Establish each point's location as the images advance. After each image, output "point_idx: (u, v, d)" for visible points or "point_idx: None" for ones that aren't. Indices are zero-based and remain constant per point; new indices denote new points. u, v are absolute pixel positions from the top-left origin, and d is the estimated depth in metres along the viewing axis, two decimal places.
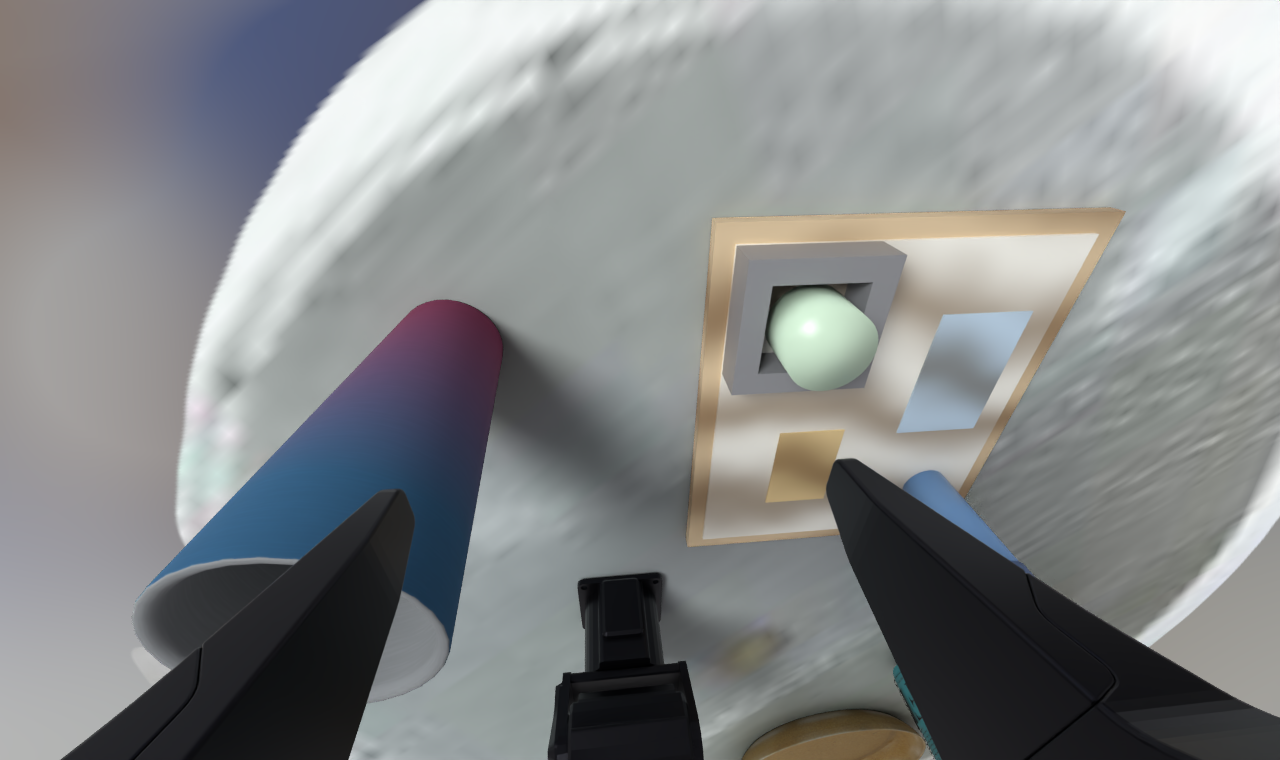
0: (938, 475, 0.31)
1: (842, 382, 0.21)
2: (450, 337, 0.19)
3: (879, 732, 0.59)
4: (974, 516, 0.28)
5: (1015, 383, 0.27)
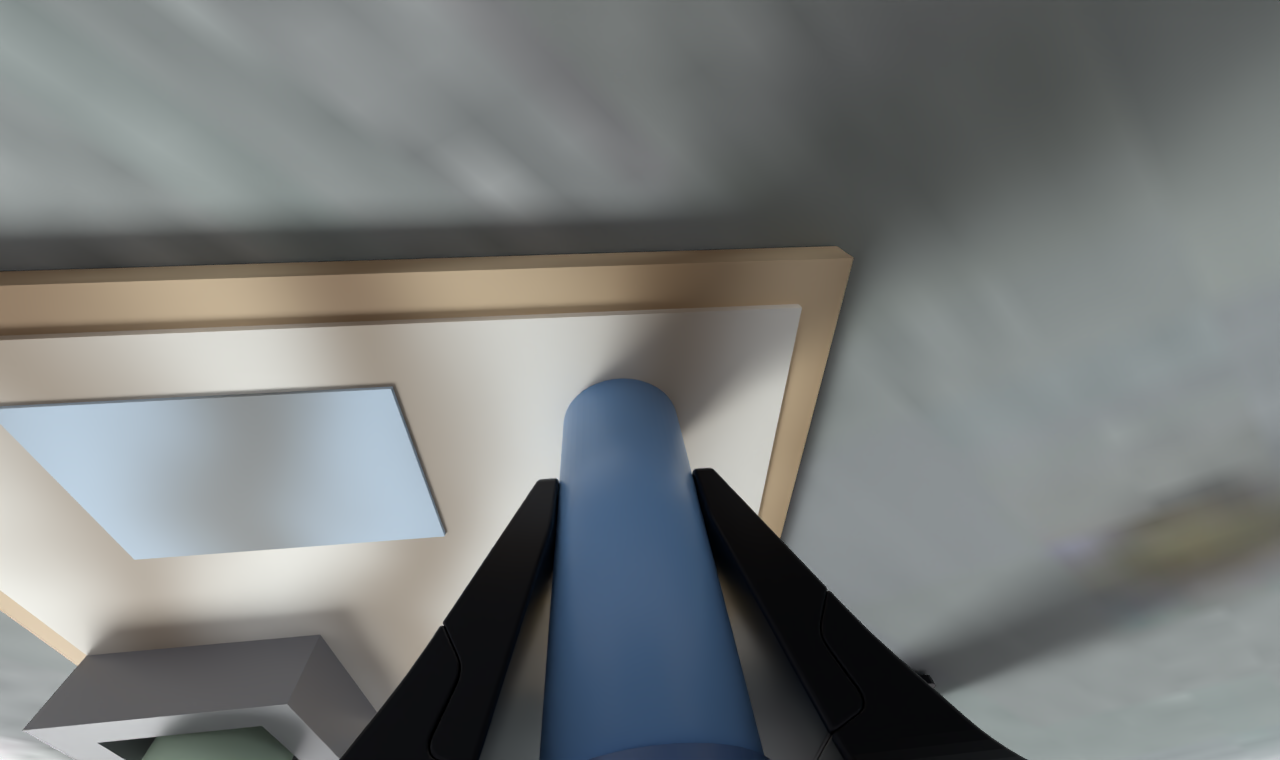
0: (563, 431, 0.11)
1: None
2: None
3: None
4: (554, 558, 0.08)
5: (202, 339, 0.09)
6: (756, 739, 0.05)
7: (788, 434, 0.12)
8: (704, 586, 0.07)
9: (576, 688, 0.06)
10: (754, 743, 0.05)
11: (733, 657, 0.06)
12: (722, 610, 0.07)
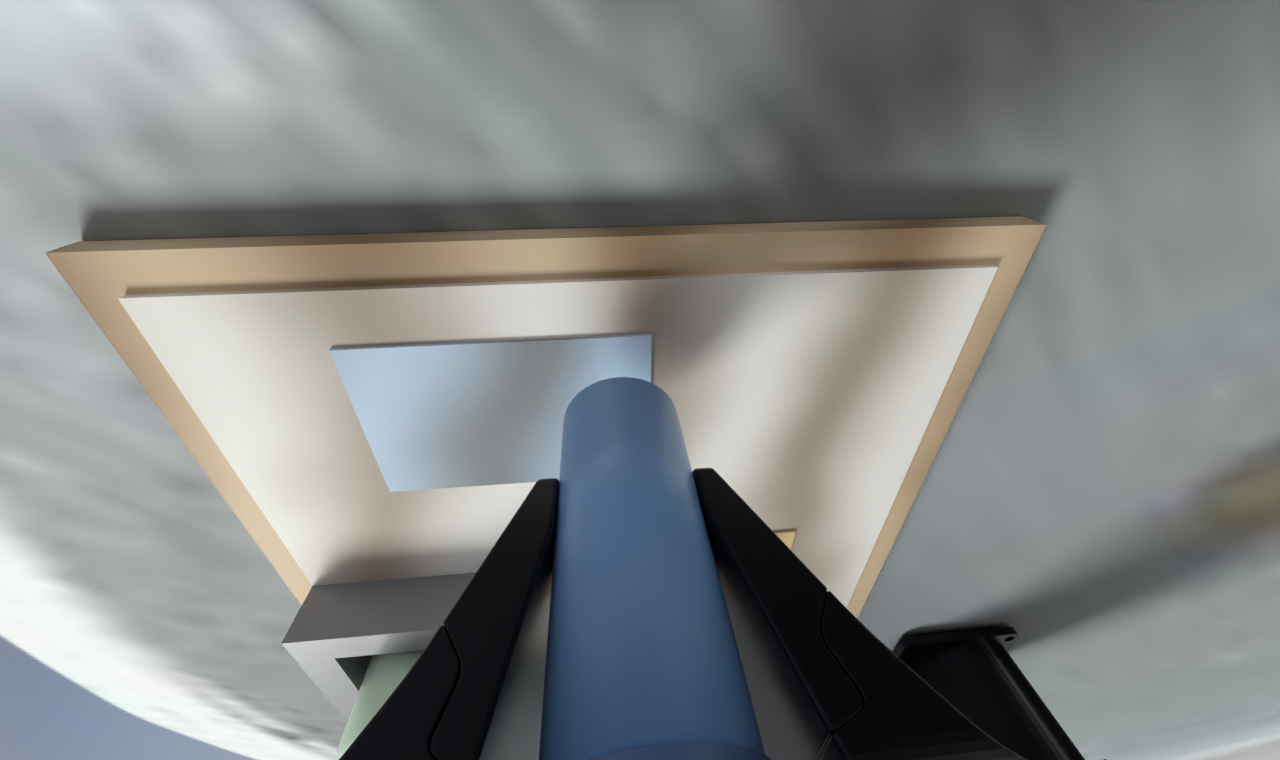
0: (563, 430, 0.11)
1: None
2: None
3: None
4: (554, 557, 0.08)
5: (517, 290, 0.11)
6: (757, 739, 0.05)
7: (954, 383, 0.14)
8: (705, 585, 0.07)
9: (576, 687, 0.06)
10: (755, 743, 0.05)
11: (733, 657, 0.06)
12: (723, 609, 0.07)
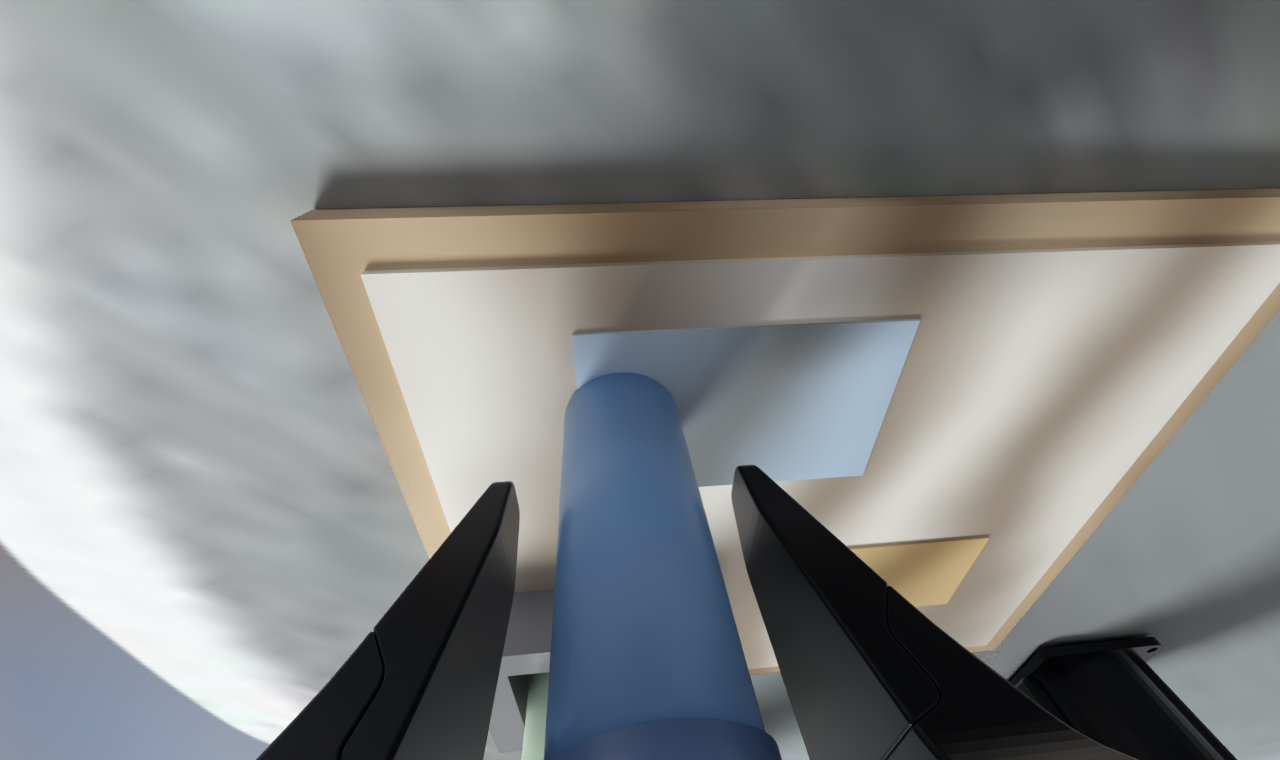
0: (564, 425, 0.11)
1: None
2: None
3: None
4: (557, 547, 0.08)
5: (793, 267, 0.10)
6: (758, 718, 0.06)
7: (1208, 375, 0.13)
8: (706, 571, 0.07)
9: (581, 669, 0.06)
10: (756, 721, 0.05)
11: (735, 640, 0.06)
12: (723, 595, 0.07)
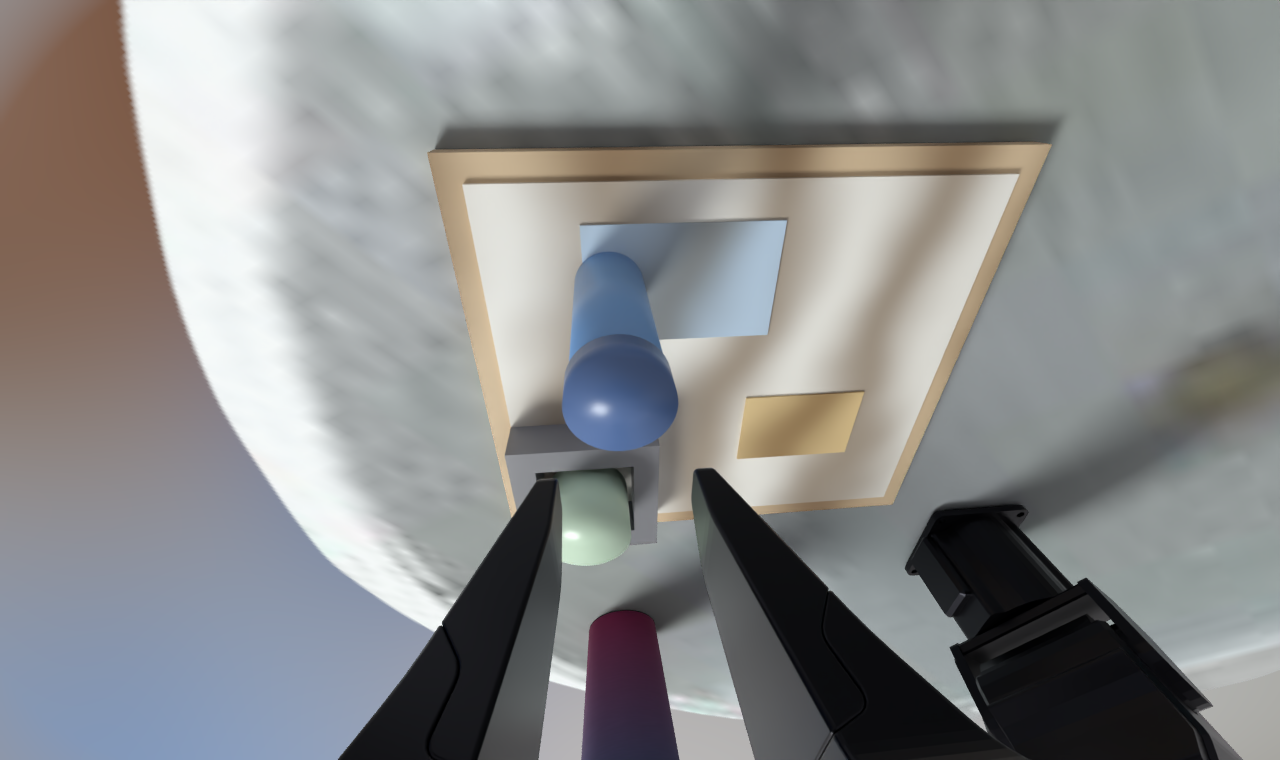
0: (574, 283, 0.18)
1: (621, 523, 0.21)
2: (590, 676, 0.31)
3: None
4: (572, 322, 0.15)
5: (707, 184, 0.17)
6: None
7: (986, 267, 0.20)
8: (645, 316, 0.14)
9: (584, 335, 0.13)
10: None
11: (655, 337, 0.13)
12: (653, 327, 0.14)
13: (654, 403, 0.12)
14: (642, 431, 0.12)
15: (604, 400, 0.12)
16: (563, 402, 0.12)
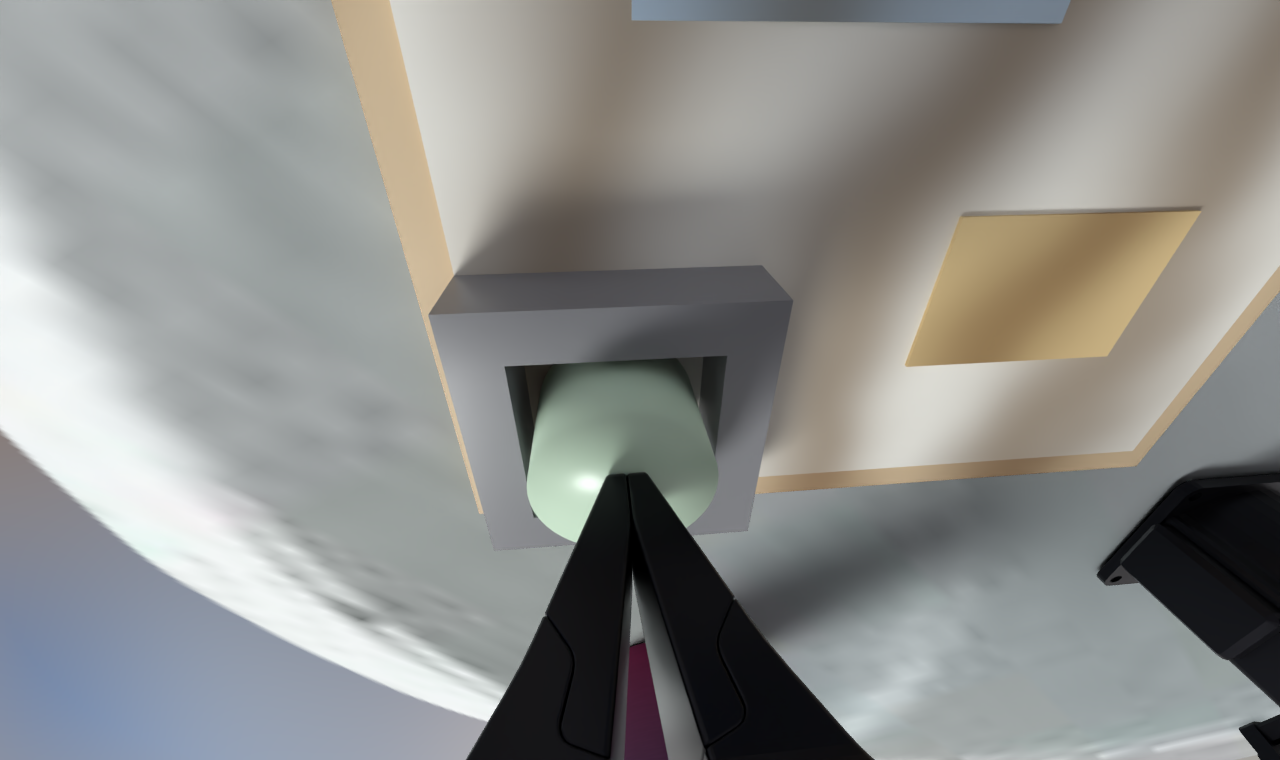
0: None
1: (701, 452, 0.09)
2: None
3: None
4: None
5: None
6: None
7: None
8: None
9: None
10: None
11: None
12: None
13: None
14: None
15: None
16: None
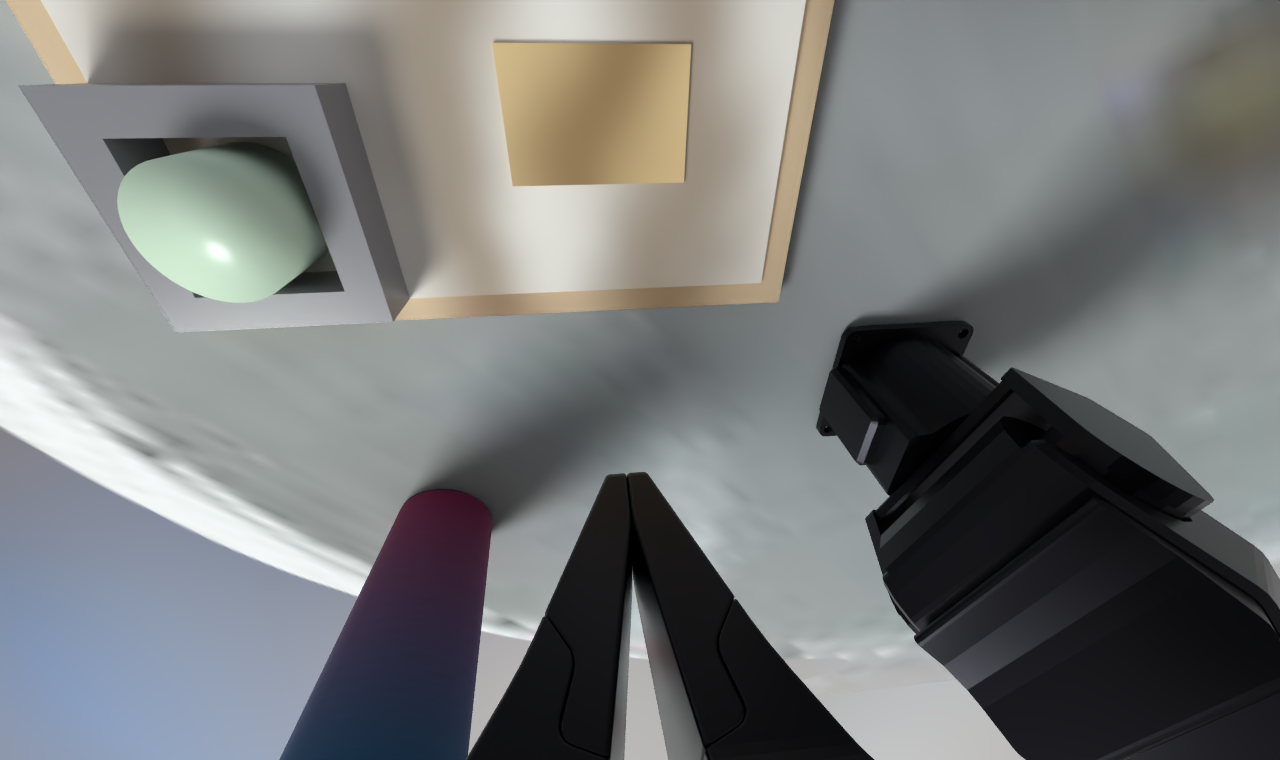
0: None
1: (255, 202, 0.12)
2: (371, 569, 0.22)
3: None
4: None
5: None
6: None
7: None
8: None
9: None
10: None
11: None
12: None
13: None
14: None
15: None
16: None
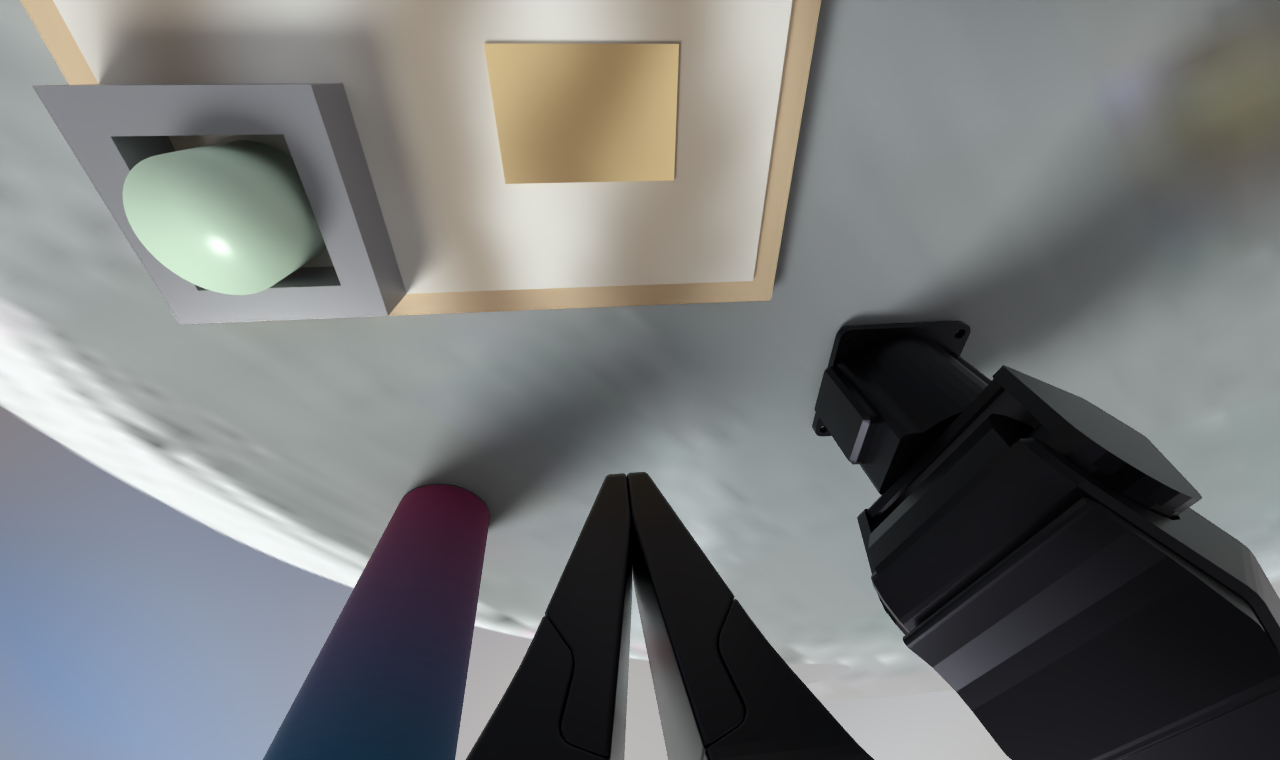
0: None
1: (253, 197, 0.13)
2: (369, 561, 0.23)
3: None
4: None
5: None
6: None
7: None
8: None
9: None
10: None
11: None
12: None
13: None
14: None
15: None
16: None
